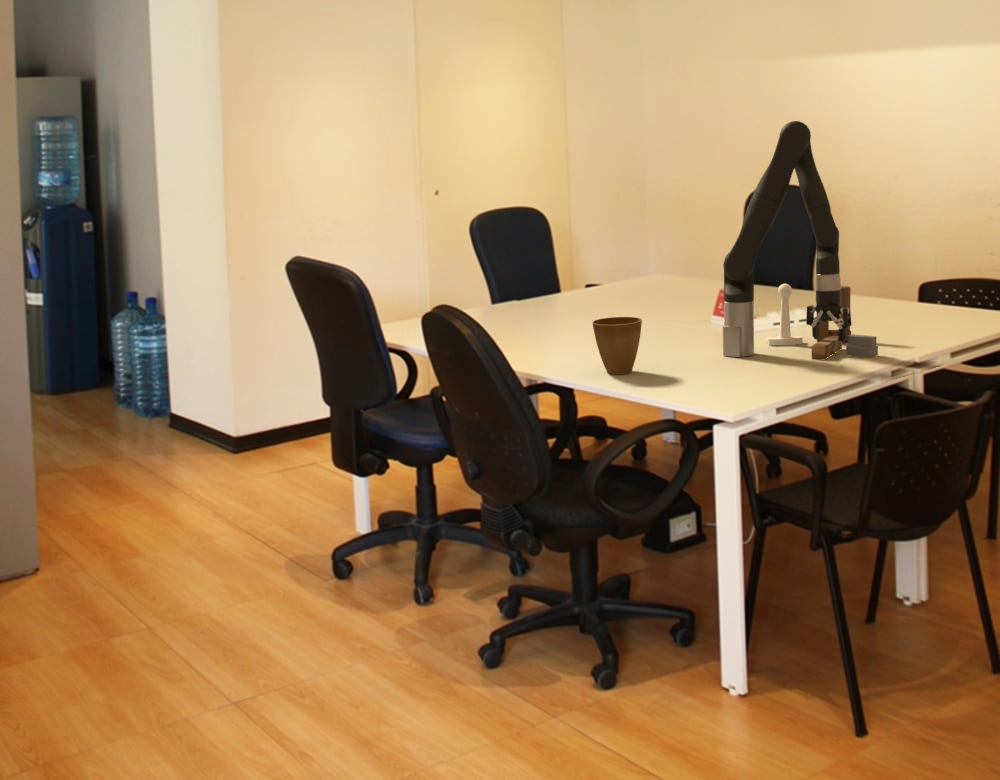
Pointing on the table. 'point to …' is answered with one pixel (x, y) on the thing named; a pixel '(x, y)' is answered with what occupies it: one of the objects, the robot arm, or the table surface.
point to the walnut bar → (826, 347)
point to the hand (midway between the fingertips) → (828, 339)
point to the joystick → (784, 321)
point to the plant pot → (618, 342)
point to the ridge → (862, 346)
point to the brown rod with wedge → (844, 303)
